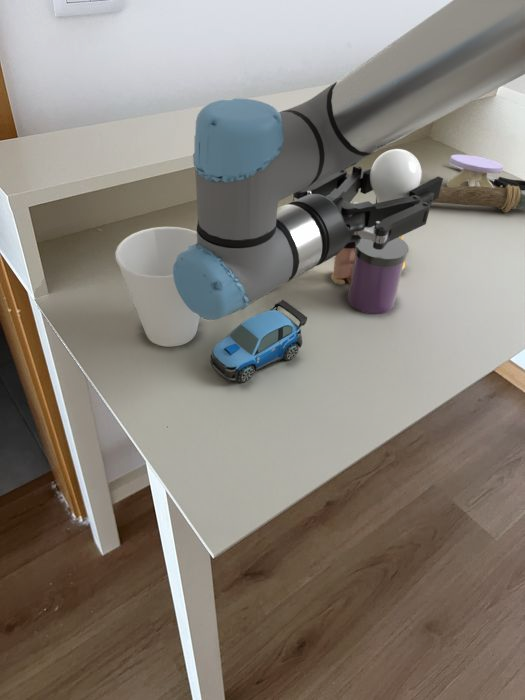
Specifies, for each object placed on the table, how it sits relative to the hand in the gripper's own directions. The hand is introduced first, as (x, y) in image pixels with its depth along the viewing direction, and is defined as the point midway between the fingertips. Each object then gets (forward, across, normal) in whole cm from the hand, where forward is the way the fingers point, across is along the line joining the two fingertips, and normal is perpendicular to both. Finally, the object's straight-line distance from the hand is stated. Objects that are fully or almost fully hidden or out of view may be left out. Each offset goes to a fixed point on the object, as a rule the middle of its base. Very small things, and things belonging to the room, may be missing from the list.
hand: (414, 178), depth 77 cm
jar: (-5, 0, -17) cm, 18 cm away
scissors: (+48, -18, -17) cm, 54 cm away
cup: (-31, -14, -18) cm, 38 cm away
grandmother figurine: (-4, -6, -18) cm, 19 cm away
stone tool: (+26, -13, -15) cm, 32 cm away
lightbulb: (-5, 0, -6) cm, 8 cm away
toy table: (+40, -9, -17) cm, 44 cm away
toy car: (-27, -2, -18) cm, 32 cm away
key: (+6, -4, -15) cm, 17 cm away
